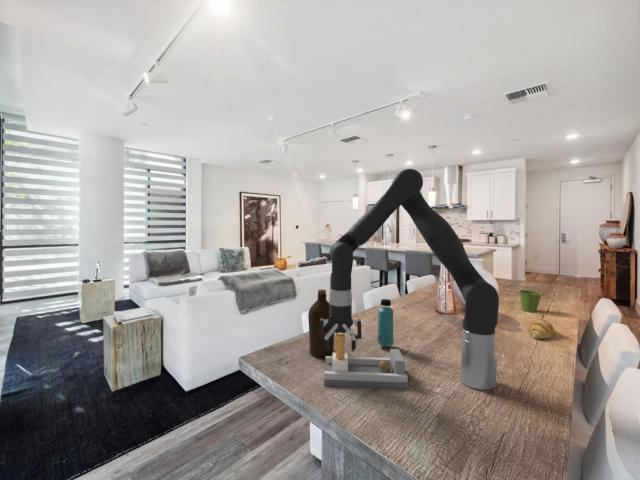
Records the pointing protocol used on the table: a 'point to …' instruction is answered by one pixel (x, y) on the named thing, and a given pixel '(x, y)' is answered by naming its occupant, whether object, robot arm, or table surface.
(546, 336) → the croissant
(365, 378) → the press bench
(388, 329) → the beverage bottle
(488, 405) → the table surface
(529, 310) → the plant pot
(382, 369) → the walnut
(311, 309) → the olive oil
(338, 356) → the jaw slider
